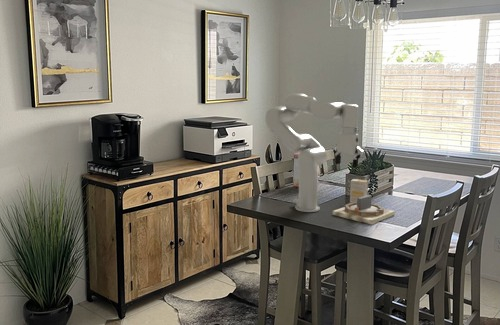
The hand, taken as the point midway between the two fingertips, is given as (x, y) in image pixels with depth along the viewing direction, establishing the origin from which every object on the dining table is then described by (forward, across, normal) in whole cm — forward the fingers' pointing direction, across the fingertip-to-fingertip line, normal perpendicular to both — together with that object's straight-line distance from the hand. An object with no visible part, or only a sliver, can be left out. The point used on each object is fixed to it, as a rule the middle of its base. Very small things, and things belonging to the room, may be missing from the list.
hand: (346, 165), depth 245 cm
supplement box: (+26, +8, -27) cm, 39 cm away
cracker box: (+28, +51, -34) cm, 67 cm away
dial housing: (+26, -5, -11) cm, 29 cm away
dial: (+24, -5, -11) cm, 26 cm away
